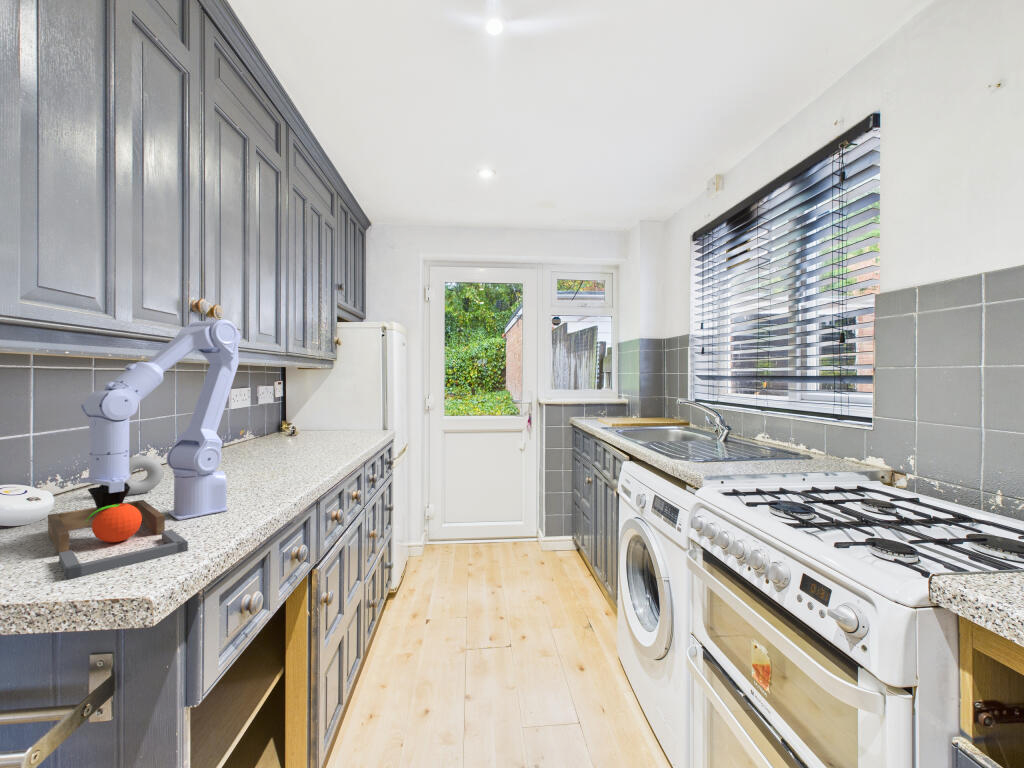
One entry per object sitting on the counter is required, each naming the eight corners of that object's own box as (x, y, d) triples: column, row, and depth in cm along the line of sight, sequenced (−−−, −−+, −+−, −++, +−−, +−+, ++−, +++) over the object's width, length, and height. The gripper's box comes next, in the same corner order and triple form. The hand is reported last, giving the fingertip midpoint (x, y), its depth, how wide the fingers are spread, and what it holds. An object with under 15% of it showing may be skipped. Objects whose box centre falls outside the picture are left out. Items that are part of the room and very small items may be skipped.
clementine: (91, 553, 76) (91, 512, 76) (77, 545, 79) (78, 505, 79) (148, 539, 83) (148, 501, 82) (133, 532, 86) (133, 496, 86)
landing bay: (171, 537, 84) (171, 529, 84) (187, 550, 78) (187, 541, 78) (59, 561, 72) (59, 552, 72) (67, 579, 66) (67, 569, 66)
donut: (114, 498, 110) (114, 459, 110) (112, 496, 112) (112, 457, 112) (164, 491, 117) (164, 454, 117) (161, 489, 119) (162, 452, 119)
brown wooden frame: (142, 515, 97) (142, 499, 97) (164, 533, 86) (164, 515, 86) (48, 532, 85) (48, 514, 85) (59, 555, 75) (59, 535, 75)
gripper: (74, 450, 85) (74, 520, 85) (86, 460, 76) (86, 538, 76) (122, 447, 91) (122, 512, 91) (139, 455, 81) (138, 528, 82)
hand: (109, 523), depth 84 cm, fingers closed
